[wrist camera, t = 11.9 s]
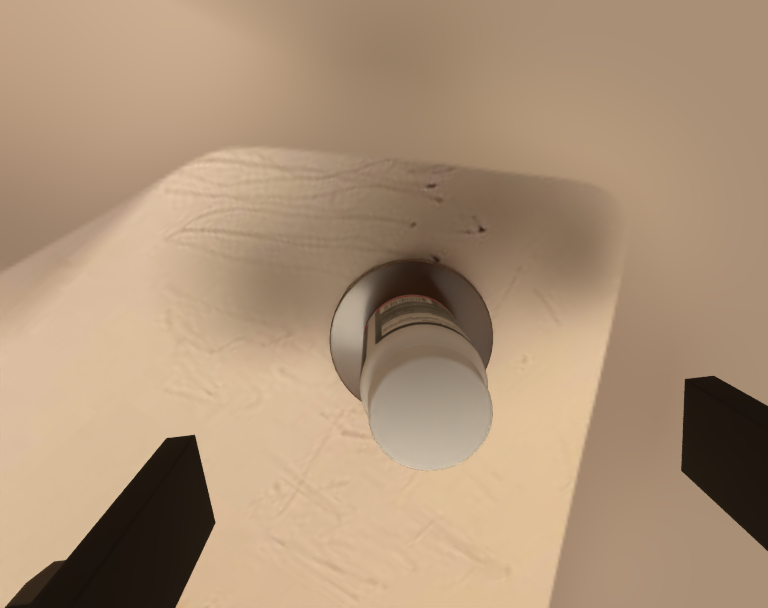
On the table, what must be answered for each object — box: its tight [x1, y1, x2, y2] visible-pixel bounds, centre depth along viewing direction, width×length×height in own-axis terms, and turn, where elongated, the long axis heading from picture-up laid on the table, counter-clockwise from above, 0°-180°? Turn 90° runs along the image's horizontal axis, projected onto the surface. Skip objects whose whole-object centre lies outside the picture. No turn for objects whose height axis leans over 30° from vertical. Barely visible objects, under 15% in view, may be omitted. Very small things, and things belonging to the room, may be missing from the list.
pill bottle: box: [360, 295, 493, 471], centre depth 19 cm, size 5×5×8 cm
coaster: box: [330, 260, 493, 402], centre depth 24 cm, size 8×8×1 cm
